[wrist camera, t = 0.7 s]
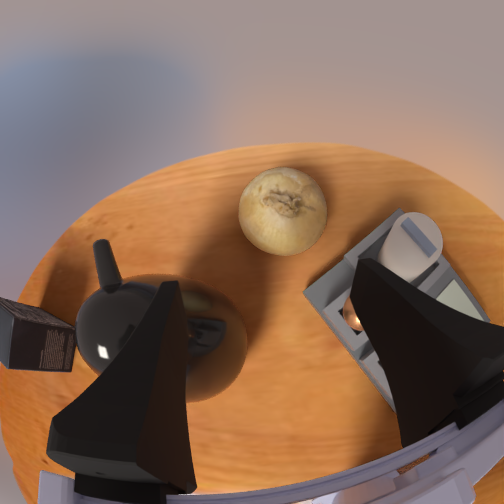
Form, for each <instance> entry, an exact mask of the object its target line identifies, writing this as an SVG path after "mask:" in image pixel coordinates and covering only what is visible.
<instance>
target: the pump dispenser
mask: <svg viewBox="0 0 504 504" xmlns="http://www.w3.org/2000/svg"><path fill="white" fill-rule="evenodd" d="M93 251H94V257H95V263H96V268H97V274H98V279H99V284H100V288H99V289H98V290H97V291H95V292H94V293H92V294H91V295H90V296H89V297H88V298H87V299H86V300H85V301H84V302H83V304H82V305H81V307H80V308H79V310H78V313H77V316H76V320H75V340H76V344H77V347H78V350H79V352H80V354H81V356H82V358H83V359H84V361H85V362H86V364H87V365H88V366H89V367H90V368H91V369H92V370H93V371H94V372H95V373H96V374H97V375H98V376H100V375H101V373H102V372H103V371H104V370H105V369H106V368H107V366H108V365H109V364H110V363H111V362H112V360H113V359H114V358H115V357H116V355H117V354H118V353H119V351H120V350H121V349H122V347H123V346H124V345H125V343H126V342H127V340H128V339H129V337H130V336H131V334H132V333H133V331H134V330H135V328H136V327H137V325H138V323H139V322H140V320H141V318H142V317H143V315H144V313H145V312H146V310H147V308H148V306H149V305H150V303H151V301H152V299H153V297H154V295H155V294H156V292H157V290H158V288H159V286H160V284H161V283H162V282H164V281H175V280H178V282H179V287H180V291H181V295H182V299H183V303H184V307H185V311H186V315H187V324H188V354H187V370H186V403H194V402H199V401H203V400H207V399H209V398H212V397H214V396H216V395H218V394H220V393H221V392H223V391H224V390H226V389H227V388H228V387H229V386H230V385H231V384H232V383H233V382H234V381H235V379H236V378H237V376H238V375H239V373H240V371H241V369H242V367H243V365H244V362H245V358H246V354H247V332H246V327H245V323H244V320H243V318H242V315H241V313H240V311H239V310H238V308H237V307H236V305H235V304H234V303H233V301H232V300H231V299H230V298H229V297H228V296H227V295H226V294H224V293H223V292H222V291H220V290H219V289H217V288H216V287H214V286H212V285H210V284H208V283H205V282H203V281H200V280H196V279H192V278H188V277H184V276H178V275H171V274H144V275H137V276H132V277H128V278H124V279H122V277H121V275H120V272H119V269H118V266H117V263H116V261H115V258H114V255H113V252H112V248H111V245H110V242H109V241H108V240H106V239H100V240H97V241H95V242H94V244H93Z"/></svg>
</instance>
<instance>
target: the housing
mask: <svg viewBox="0 0 504 504" xmlns="http://www.w3.org/2000/svg"><path fill="white" fill-rule="evenodd" d="M403 214H405V213H404V212H403V211H402V210H401V209H400V208H398V209H397V210H396V211H395V212H394V213H393V214H392V215H391V216H389V217H388V218H387V219H386V220H385V221H384V222H383V223H382V224H380V225H379V226H378V227H377V228H376V229H375V230H374V231H372V232H371V233H370V234H369V235H368V236H367V237H365V238H364V239H363V240H362V241H361V242H360V243H358V244H357V245H356V246H355V247H354V248H352V249H351V250H350V251H349V252H348V253H346V254H345V255H344V258H343V260H342V261H340V262H339V263H338V264H337V265H335V266H334V267H333V268H332V269H331V270H329V271H328V272H327V273H326V274H324V275H323V276H322V277H321V278H319V279H318V280H317V281H316V282H314V283H313V284H312V285H311V286H309V287H308V288H307V289H306V290H304V291H303V294H304V296H305V297H306V298H307V300H308V301H309V302H310V303H311V305H312V306H313V307H314V308H315V310H316V311H317V312H318V314H319V315H320V316H321V317H322V319H323V320H324V321H325V322H326V324H327V325H328V326H329V328H330V329H331V330H332V331H333V333H334V334H335V335H336V337H337V338H338V339H339V340H340V342H341V343H342V344H343V346H344V347H345V348H346V349H347V351H348V352H349V353H350V355H351V356H352V357H353V359H354V360H355V361H356V362H357V364H358V365H359V366H360V368H361V369H362V370H363V372H364V373H365V374H366V375H367V377H368V378H369V379H370V381H371V382H372V383H373V385H374V386H375V387H376V389H377V390H378V391H379V392H380V394H381V395H382V396H383V398H384V399H385V400H386V402H387V403H388V404H389V406H390V407H391V408H392V410H393V411H394V412H395V413H396V409H395V405H394V401H393V398H392V394H391V391H390V388H389V384H388V381H387V378H386V376H385V373H384V370H383V367H382V365H381V362H380V360H379V358H378V356H377V354H376V352H375V350H374V348H373V346H372V344H371V342H370V341H369V339H368V337H367V335H366V333H365V331H358V330H355V329H353V328H351V327H350V326H349V325H348V324H347V323H346V322H345V320H344V317H343V306H344V303H345V301H346V299H347V298H348V296H349V295H350V292H351V288H352V283H353V279H354V275H355V271H356V266H357V262H358V259H366V258H372V259H373V260H375V261H376V260H377V256H378V253H379V251H380V250H381V248H382V246H383V244H384V242H385V240H386V238H387V236H388V234H389V232H390V230H391V229H392V227H393V225H394V223H395V221H396V220H397V219H398V218H399V217H400V216H401V215H403ZM410 284H412V285H413V286H415V287H416V288H418V289H419V290H421V291H423V292H424V293H426V294H427V295H429V296H431V297H432V298H434V299H436V300H438V301H439V302H441V303H443V304H445V305H447V306H449V307H451V308H453V309H455V310H457V311H459V312H462V313H464V314H466V315H469V316H471V317H474V318H476V319H479V320H482V321H485V322H488V323H489V322H490V319H489V318H488V316H487V315H486V313H485V312H484V310H483V309H482V307H481V306H480V305H479V303H478V302H477V300H476V299H475V297H474V296H473V295H472V293H471V292H470V291H469V289H468V288H467V287H466V285H465V284H464V283H463V281H462V280H461V279H460V277H459V276H458V275H457V273H456V272H455V271H454V270H453V268H452V267H451V266H450V264H449V262H448V261H447V260H446V259H445V258H444V256H443V255H442V254H440V256H439V258H438V259H437V260H436V261H435V262H434V263H433V264H432V265H431V266H430V267H428V268H427V269H426V270H425V271H424V272H423V273H421V274H420V275H419V276H418V277H417V278H415V279H414V280H413V281H412V282H410Z"/></svg>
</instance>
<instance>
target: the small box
mask: <svg viewBox="0 0 504 504" xmlns="http://www.w3.org/2000/svg"><path fill="white" fill-rule="evenodd" d="M75 346H76V340H75V327H74V326H72V325H70V324H68V323H66V322H64V321H63V320H61V319H59V318H57V317H55V316H53V315H52V314H50V313H48V312H46V311H44V310H43V309H41V308H39V307H34V306H30V305H26V304H22V303H18V302H14V301H11V300H8V299H4V298H1V297H0V361H1V362H2V364H3V365H4V366H5V367H6V368H7V369H15V370H29V371H47V372H71V370H72V364H73V357H74V351H75Z"/></svg>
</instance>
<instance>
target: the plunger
mask: <svg viewBox="0 0 504 504" xmlns="http://www.w3.org/2000/svg"><path fill="white" fill-rule="evenodd" d="M349 296H350V295H349ZM349 296H348V298H347V299H346V301H345V303H344V306H343V317H344V320H345V322H346V323H347V324H348V325H349V326H350V327H351V328H353V329H355V330H358V331H364V329H363V327H362V325H361V324H360V322H359V320H358V318H357V316H356V313H355V311H354V308H353V305H352V303H351V300H350V297H349Z"/></svg>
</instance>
